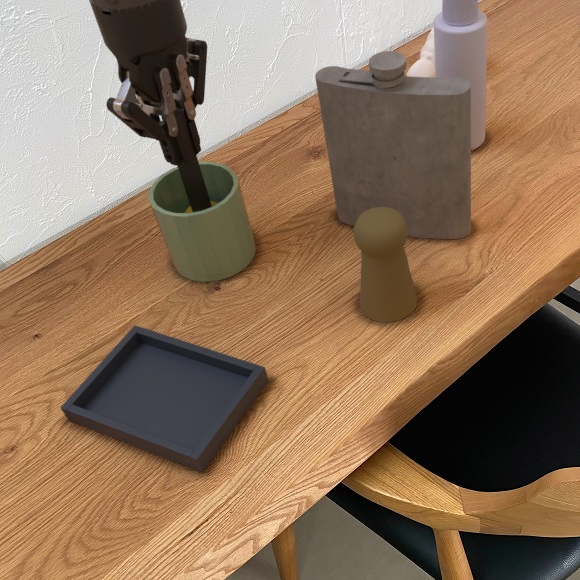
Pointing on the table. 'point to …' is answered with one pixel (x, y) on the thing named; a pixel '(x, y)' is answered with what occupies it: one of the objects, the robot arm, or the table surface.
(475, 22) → the spray bottle
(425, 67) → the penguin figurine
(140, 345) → the tray
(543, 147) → the table surface
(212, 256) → the beaker
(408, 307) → the peg doll figure
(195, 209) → the brush
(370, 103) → the hip flask
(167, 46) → the robot arm
